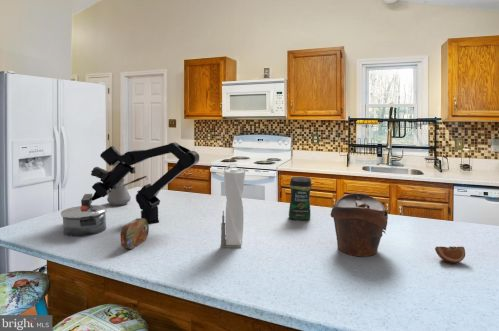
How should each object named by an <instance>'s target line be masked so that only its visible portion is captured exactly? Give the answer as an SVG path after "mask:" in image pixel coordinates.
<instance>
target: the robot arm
mask: <svg viewBox="0 0 499 331" xmlns="http://www.w3.org/2000/svg"><path fill="white" fill-rule="evenodd" d="M167 154H172V155H173V156H174V157H175V158H176V159H178V160H177V162H176V163H175V165H174V166H172V167H171V168H170V169H169V170H168V171H167V172H165V174H163V175H162V176H161V177H160V178H158V179H157V180H156V181H154V183H153V184H151V183H148V184H145V185H143V186H142V187H141V188H140V189H139V190H138V191H136V195H135V202H136V203H137V204H138V206H139V207H138V208H140V218H145V219H146V220H147V222H148V224H154V223H159V222H160V219H159V207H158V206H160V202H161V200H160V199H159V198H158V195H159V193H160V192H161V190H163V188H165V187H166V186H168V185H169V184H170V183H171V182H172V181H173V180H174V179H176V178H177V177H178V176H179V175H180V174H181V173H182V172H183V171H186V170H187V169H189V168H191V167H193V166H194V165H196V164H198V163H199V162H200V154H199V153H198V151H195V150H190V149H189V148H187V147H185V146H182V145H180V144H179V143H178V142H176V141H175V142H169V143H168V144H165V145H159V146H156V147H152V148H148V149H137V150H136V149H135V150H131V151H126V152H125V153H122V154H121V153H120V152H119V151H118V150H117V149H116V147H115V146H113V145H110V146H109V147H108V148H106V149H105V150H104V151H102V152H101V153H100V154H99V156H100V158H101V159H102V160H104V162H105V163H106V164H107V165H108V166H109V167H111V166H112V167H113V168H112V169H111V170H110V171H108V170H106V169H103V168H101V167H99V166H95V167H93V169H92V170H91V173H90V176H92V177H95V178H97V179H100V180H99V181H97V182H95V183H94V184H93V185H92V186H91V188H92V190H94V191H95V192H94V193H93V194H92V198H91V200H93V201H92V202H94V201H95V200H97V199H100V198H105V197H106V196H108V195H109V193H110V192H111V190H112V189H115V188H116V187H117V186H118V183H119V182H120V181H121V180H122V179H125V178H126V176H127V175H128V174H136V167H135V166H133V165H137V164H140V163H143V162H144V161H147V160H148V159H151V158H154V157H158V156H162V155H167Z"/></svg>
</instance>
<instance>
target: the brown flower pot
mask: <svg viewBox="0 0 499 331" xmlns="http://www.w3.org/2000/svg"><path fill="white" fill-rule="evenodd" d="M330 217H331V218H332V219H333V222H334V229H335V230H334V231H335V237H336V242H337V243H336V245H337V248H338V250H340V251H341V252H342V253H344V254H347V255H349V256H353V257H371V256H374V255H376V254H377V252H378V250H379V246H380V242H381V239H382V237H383V233H384V234H386V231H387V226H388V218H389V215H388V211H387V208H386V207H385V206H384V204H383V203H382V202H381V201H379V200H378V199H376V198H374V197H373V196H370V195H368V194H364V193H359V192H355V193H353V192H352V193H347V194H345V195H343V196H342V197H340V198H338V199H337V200H336V202H334V205H333V206H332V209H331V211H330Z"/></svg>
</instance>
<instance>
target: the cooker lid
mask: <svg viewBox="0 0 499 331" xmlns="http://www.w3.org/2000/svg"><path fill="white" fill-rule="evenodd" d="M92 197H93V193H84V195H83V196H82V197H81V199H80V200H81V201H80V203H81V205H78V206H72V207H69V208H65V209H63V210H61V212H60V217H61V218H63V217H64V218H71V219H78V218H89V217H94V216H98V215H101V214H104V213H105V214H106V213H107V207H106V206H103V205H99V204H98V205H97V204H95V205H94V204H92V203H93V202H94V201H93V200H91V198H92Z"/></svg>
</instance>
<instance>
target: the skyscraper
mask: <svg viewBox="0 0 499 331" xmlns="http://www.w3.org/2000/svg"><path fill="white" fill-rule="evenodd" d="M231 166H234V168H230V169H229V170H228V171H226V170H227V169H228V168H229V167H231ZM237 166H238V164H237V163H230V164H228V165H227V166H226V167H225V169H224V170H223V177H224V178H223V180H224V190H225V198H226V201H225V202H226V203H225V211H224V210H222V216H221V219H222V220H221V223H220V226H221V227H220V228H221V230H220V234H221V235H220V249H221V248H223V249H241V248H242V244H243V236H244V206H243V200H242V198H243V193H244V185H245V176H246V170H244V169H239V168H237ZM224 213H225V214H224Z"/></svg>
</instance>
